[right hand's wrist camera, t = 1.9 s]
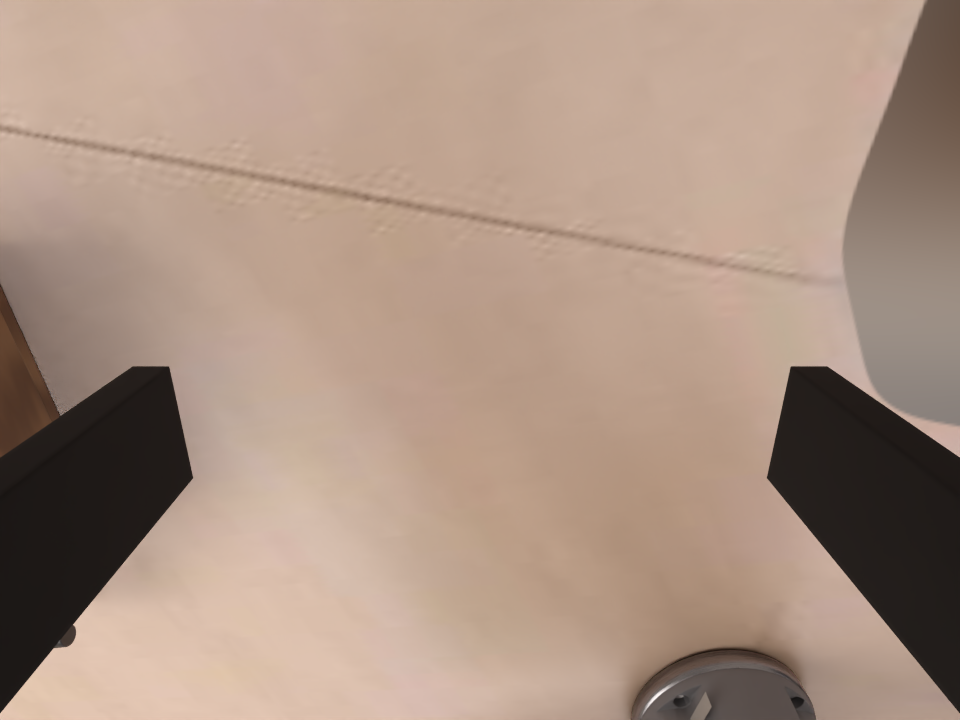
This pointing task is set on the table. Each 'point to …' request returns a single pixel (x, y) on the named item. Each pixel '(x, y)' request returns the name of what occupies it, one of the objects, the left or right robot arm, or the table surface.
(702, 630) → the table surface
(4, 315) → the cabinet
